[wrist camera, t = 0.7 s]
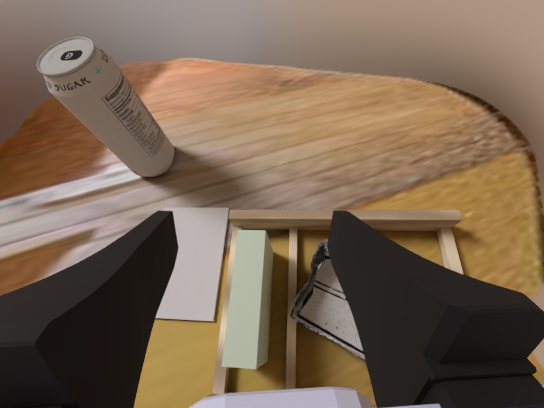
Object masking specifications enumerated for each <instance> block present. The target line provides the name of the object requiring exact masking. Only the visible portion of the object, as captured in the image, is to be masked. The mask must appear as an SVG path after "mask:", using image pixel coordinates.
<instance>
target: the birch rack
mask: <svg viewBox="0 0 544 408" xmlns="http://www.w3.org/2000/svg"><path fill="white" fill-rule="evenodd" d="M346 211H348V212H350V213H352V214H353V215H355V216H356V217H357V218H359V219H360V220H362V221H363V222H365V223H366V224H368V225H369V226H370V227H372V228H373V229H375V230H376V231H436V234H437V238H438V242H439V246H440V251H441V255H442V259H443V264H444V267H445V268H448V269H450V270H453V271H455V272H458V273H460V274H463V271H462V267H461V263H460V259H459V255H458V251H457V248H456V244H455V240H454V236H453V232H452V229H451V228H452V227H453V226H455V225H456V224H457V223H459V222H460V221H461V220H462V218H461V214H460V211H459V210H346ZM332 215H333V210H230V212H229V220H230V221H231V223H232V225H233V232H232V240H231V248H230V256H229V264H228V272H227V280H226V288H225V295H224V303H223V311H222V319H221V327H220V335H219V343H218V351H217V359H216V367H215V375H214V382H213V390H212V394H210V395H209V396H207V397H211V396H216V395H221V394H226V393H232V392H227V386H228V377H229V368H230V367H222V360H223V351H224V343H225V334H226V326H227V317H228V309H229V300H230V292H231V283H232V275H233V266H234V258H235V249H236V241H237V232H238V230H244V229H269V230H290V235H289V274H288V313H287V351H286V390H287V389H296V321H295V320H292V319H291V318H290V311H291V308H292V306H293V303H294V301H295V298H296V297H297V230H330V226H331V221H332ZM463 275H464V274H463ZM294 316H295V317H296V313H295V314H294ZM205 398H206V397H205ZM371 406H372V408H377V406H376V405H371Z"/></svg>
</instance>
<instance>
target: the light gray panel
mask: <svg viewBox="0 0 544 408" xmlns="http://www.w3.org/2000/svg"><path fill="white" fill-rule="evenodd" d="M163 211H173V217H174V223H175V229H176V235H177V241H178V253H177V258H176V262H175V266H174V270H173V272H172V275H171V278H170V280H169V283H168V286H167V288H166V291H165V293H164V296H163V299H162V301H161V304H160V306H159V309H158V312H157V314H156V317H155V318H162V319H180V320H198V321H214V318H215V311H216V304H217V296H218V289H219V282H220V275H221V267H222V260H223V253H224V245H225V238H226V231H227V224H228V216H229V208H163Z"/></svg>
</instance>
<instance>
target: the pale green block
mask: <svg viewBox="0 0 544 408" xmlns="http://www.w3.org/2000/svg"><path fill="white" fill-rule="evenodd" d="M272 270H273V249H272V247H271V244H270V241H269V238H268V236H267V233H266V230H238V232H237V241H236V249H235V258H234V266H233V275H232V283H231V292H230V300H229V309H228V317H227V326H226V334H225V343H224V351H223V360H222V367H234V368H247V369H257V368H259V367H260V366H262V365H263V364H265V363H266V362H267V361H268V346H269V327H270V308H271V289H272Z"/></svg>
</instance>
